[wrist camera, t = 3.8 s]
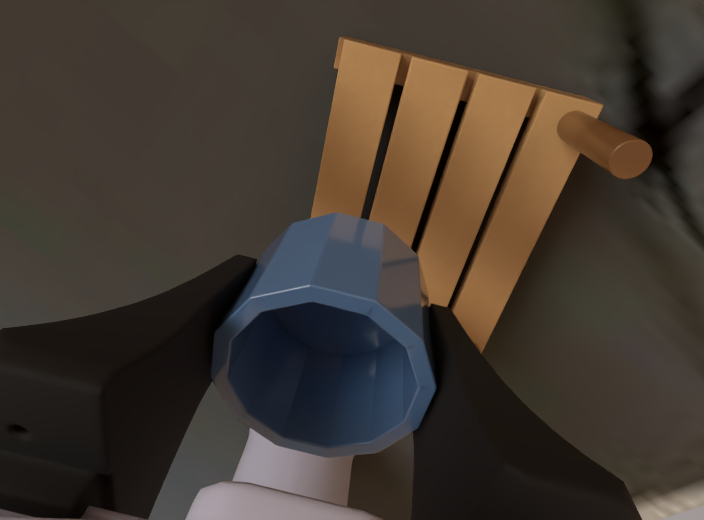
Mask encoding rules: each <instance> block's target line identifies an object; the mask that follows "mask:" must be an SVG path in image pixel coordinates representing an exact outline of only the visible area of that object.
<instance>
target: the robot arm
mask: <svg viewBox="0 0 704 520" xmlns="http://www.w3.org/2000/svg"><path fill="white" fill-rule="evenodd" d="M256 262H257V259H254V258H250V257H246V256H242V255H236V256H234V257H232V258H230V259H228V260H227V261H225V262H223V263H221V264H220V265H218V266H216V267H214V268H212V269H211V270H209V271H207V272H205V273H203V274H201V275H200V276H198V277H196V278H194V279H192V280H190V281H188V282H186V283H183V284H181V285H179V286H177V287H175V288H173V289H171V290H168V291H166V292H164V293H161V294H159V295H156V296H154V297H151V298H148V299H145V300H142V301H140V302H137V303H134V304H131V305H127V306H123V307H120V308H116V309H112V310H109V311H105V312H102V313H98V314H93V315H89V316H84V317H79V318H74V319H69V320H63V321H58V322H51V323H44V324H36V325H28V326H20V327H12V328H3V329H1V330H0V520H148V518H149V516H150V513H151V511H152V508H153V506H154V503H155V501H156V499H157V496H158V494H159V492H160V489H161V487H162V485H163V482H164V480H165V478H166V475H167V473H168V471H169V468H170V466H171V464H172V462H173V459H174V457H175V455H176V453H177V451H178V448H179V446H180V444H181V442H182V439H183V437H184V435H185V433H186V431H187V429H188V426H189V424H190V422H191V420H192V418H193V416H194V414H195V411H196V409H197V407H198V405H199V403H200V401H201V400H202V398H203V396H204V394H205V392H206V391H207V389H208V387H209V386H210V384H211V382H212V381H213V380H212V379H211V364H212V352H213V341H214V333H215V330H216V329H217V327H218V326H219V324H220V322H221V321H222V319H223V318H224V316H225V314H226V313H227V311H228V310H229V308H230V306H231V305H232V303H233V301H234V300H235V298H236V297H237V295H238V293H239V292H240V290H241V289H242V287H243V285H244V284H245V282H246V281H247V279H248V277H249V276H250V274H251V272H252V271H253V269H254V268H255V266H256ZM429 310H430V321H431V331H432V339H433V350H434V361H435V372H436V382H437V389H436V391H435V393H434V396H433V398H432V400H431V402H430V404H429V407H428V409H427V411H426V413H425V415H424V417H423V420H422V422H421V424H420V426H419V428H418V429H417V430H415V431H413V439H414V474H413V496H412V514H411V520H642V519H641V517H640V514H639V512H638V510H637V508H636V506H635V504H634V502H633V500H632V498H631V496H630V494H629V492H628V490H627V488H626V486H625V484H624V482H623V481H622V480H620V479H619V478H617V477H616V476H615V475H613V474H612V473H610V472H609V471H607V470H606V469H604V468H603V467H601V466H600V465H598V464H597V463H596V462H594V461H593V460H591V459H590V458H588V457H587V456H585V455H584V454H583V453H581V452H580V451H579V450H577V449H576V448H575V447H574V446H572V445H571V444H570V443H568V442H567V441H566V440H565V439H563V438H562V437H561V436H560V435H558V434H557V433H556V432H555V431H554V430H552V429H551V428H550V427H549V426H548V425H547V424H545V423H544V422H543V421H542V420H541V419H540V418H539V417H538V416H537V415H536V414H534V413H533V412H532V411H531V410H530V409H529V408H528V407H527V406H526V405H525V404H524V403H523V402H522V401H521V400H520V399H519V398H518V397H517V396H516V395H515V394H514V393H513V392H512V390H511V389H510V388H509V387H508V386H507V385H506V384H505V383H504V382H503V381H502V379H501V378H500V377H499V376H498V375H497V373H496V372H495V371H494V370H493V368H492V367H491V366H490V365H489V363H488V362H487V361H486V360H485V358H484V357H483V356H482V354H481V353H480V352H479V350H478V349H477V347H476V346H475V344H474V343H473V342H472V340H471V339H470V337H469V336H468V334H467V333H466V331H465V330H464V328H463V327H462V325H461V324H460V322H459V321H458V319H457V318H456V316H455V315H454V313H453V312H452V310H451V309H450V308H448V307H444V306H440V305H436V304H432V303H431V304H430V307H429ZM353 458H354V455H352V456H343V457H334V458H325V457H321V456H317V455H313V454H308V453H304V452H300V451H296V450H292V449H288V448H284V447H280V446H277V445H275V444H273V443H272V442H270V441H269V440H267V439H266V438H264V437H263V436H261V435H260V434H258V433H257V432H255V431H254V430H252V429H251V428H250V431H249V438H248V441H247V443H246V446H245V449H244V451H243V454H242V457H241V459H240V462H239V465H238V467H237V470H236V473H235V475H234V478H233V480H232V481H222V482H220V483H217V484H214V485H211V486H208V487H205V488H202V489H200V491H199V493H198V495H197V496H196V498H195V500H194V501H193V503H192V505H191V508H190V510H189V512H188V514H187V517H186V519H185V520H384V519H382V518H380V517H377V516H375V515H373V514H370V513H368V512H366V511H363V510H360V509H356V508H352V507H348V506H347V502H348V493H349V485H350V476H351V468H352V461H353Z"/></svg>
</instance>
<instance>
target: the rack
mask: <svg viewBox="0 0 704 520" xmlns="http://www.w3.org/2000/svg"><path fill="white" fill-rule="evenodd" d="M334 68H335V69H337V70H338V75H337V80H336V86H335V91H334V96H333V102H332V107H331V112H330V117H329V123H328V128H327V133H326V139H325V144H324V149H323V155H322V160H321V165H320V171H319V176H318V181H317V187H316V192H315V197H314V202H313V208H312V213H311V218H315V217H319V216H323V215H327V214H331V213H335V212H339V213H343V214H347V215H351V216H355V217H358V218H361V214H362V210H363V206H364V203H365V199H366V195H367V191H368V187H369V183H370V179H371V175H372V171H373V167H374V163H375V159H376V155H377V151H378V147H379V143H380V139H381V135H382V131H383V127H384V123H385V119H386V115H387V111H388V107H389V103H390V99H391V96H392V92H393V88H394V84H397V85H401V86H404V87H403V91H402V94H401V98H400V102H399V106H398V110H397V113H396V117H395V121H394V125H393V129H392V132H391V136H390V140H389V144H388V148H387V151H386V155H385V159H384V163H383V167H382V170H381V174H380V178H379V182H378V186H377V189H376V193H375V197H374V201H373V205H372V208H371V212H370V216H369V220H370V221H374V222H378V223H382V224H384V225H386V226H387V227H388V228H389V229H390V230H391V231H392V232H394V233H395V234H396V235H397V236H398V237H399V238H400V239H401V240H402V241H403V242H404V243H405V244H406V245H408V246H409V247H410V248H411V247H412V244H413V241H414V238H415V234H416V231H417V228H418V225H419V222H420V219H421V216H422V213H423V210H424V207H425V204H426V201H427V198H428V195H429V192H430V189H431V186H432V183H433V180H434V177H435V174H436V171H437V168H438V165H439V162H440V159H441V156H442V153H443V150H444V146H445V143H446V140H447V137H448V134H449V131H450V128H451V125H452V122H453V119H454V116H455V113H456V110H457V107H458V104H459V101H464V102H467V103H466V106H465V108H464V111H463V114H462V117H461V120H460V123H459V126H458V129H457V132H456V135H455V138H454V141H453V144H452V147H451V150H450V153H449V156H448V159H447V162H446V165H445V168H444V171H443V174H442V177H441V179H440V182H439V185H438V188H437V191H436V194H435V197H434V200H433V203H432V206H431V209H430V212H429V215H428V218H427V221H426V224H425V227H424V230H423V233H422V236H421V239H420V242H419V245H418V248H417V251H416V254H417V255H418V257H419V260H420V264H421V268H422V272H423V275H424V279H425V283H426V287H427V291H428V296H429V307H430V304H431V303H432V304H436V305H440V306H444V307H447V306H448V304H449V301H450V299H451V296H452V294H453V292H454V289H455V287H456V284H457V282H458V279H459V277H460V274H461V272H462V270H463V267H464V265H465V262H466V260H467V257H468V255H469V252H470V250H471V248H472V245H473V243H474V240H475V238H476V235H477V233H478V231H479V228H480V226H481V223H482V221H483V218H484V216H485V213H486V211H487V209H488V206H489V204H490V201H491V199H492V196H493V194H494V191H495V189H496V187H497V184H498V182H499V179H500V177H501V174H502V172H503V169H504V167H505V165H506V162H507V160H508V157H509V155H510V152H511V150H512V148H513V145H514V143H515V140H516V138H517V135H518V133H519V130H520V128H521V126H522V123H523V121H524V118H525V117H527V118H529V120H528V123H527V125H526V128H525V130H524V132H523V135H522V137H521V140H520V142H519V144H518V147H517V149H516V152H515V154H514V156H513V159H512V161H511V164H510V166H509V169H508V171H507V173H506V176H505V178H504V181H503V183H502V185H501V188H500V190H499V193H498V195H497V197H496V200H495V202H494V205H493V207H492V209H491V212H490V214H489V217H488V219H487V222H486V224H485V226H484V229H483V231H482V234H481V236H480V238H479V241H478V243H477V246H476V248H475V250H474V253H473V255H472V258H471V260H470V262H469V265H468V267H467V270H466V272H465V274H464V277H463V279H462V282H461V284H460V287H459V289H458V291H457V294H456V296H455V299H454V301H453V303H452V306H451V308H450V309H451V310H452V312H453V313H454V315H455V316H456V318H457V319H458V321H459V322H460V324H461V325H462V327H463V328H464V330H465V331H466V333H467V334H468V336H469V337H470V339H471V340H472V342H473V343H474V344H475V346H476V347H477V349H478V350H479V352H480V353H482V351H483V349H484V347H485V345H486V343H487V341H488V339H489V337H490V335H491V333H492V331H493V329H494V327H495V325H496V323H497V321H498V319H499V317H500V315H501V313H502V311H503V309H504V307H505V305H506V303H507V301H508V299H509V297H510V295H511V292H512V290H513V288H514V286H515V284H516V282H517V280H518V278H519V276H520V274H521V272H522V270H523V268H524V266H525V264H526V262H527V260H528V258H529V256H530V254H531V252H532V250H533V248H534V246H535V244H536V242H537V240H538V238H539V236H540V234H541V232H542V230H543V227H544V225H545V223H546V221H547V219H548V217H549V215H550V213H551V211H552V209H553V207H554V205H555V203H556V201H557V199H558V197H559V195H560V193H561V191H562V189H563V187H564V185H565V183H566V181H567V179H568V177H569V175H570V173H571V171H572V169H573V167H574V165H575V162H576V160H577V158H578V156H579V154H580V152H581V153H582V154H584V155H585V156H586V157H588V158H589V159H591V160H592V161H593V162H595V163H596V164H598V165H599V166H600V167H602V168H603V169H605V170H606V171H608V172H609V173H610V174H612V175H613V176H615V177H617V178H619V179H630V178H633V177H636V176H638V175H640V174H641V173H642V172H644V171H645V170H646V169H647V167H648V166H649V164H650V162H651V160H652V149H651V147H650V145H649V144H648V143H647V142H645V141H643V140H641V139H639V138H637V137H635V136H633V135H630V134H628V133H626V132H624V131H622V130H620V129H618V128H616V127H614V126H611V125H609V124H607V123H605V122H603V121H601V120H599V119H597V118H598V116H599V114H600V112H601V110H602V108H603V105H602V103H599V102H597V101H594V100H591V99H589V98H586V97H584V96H580V95H576V94H572V93H568V92H564V91H561V90H557V89H553V88H549V87H545V86H541V85H537V84H533V83H529V82H525V81H521V80H517V79H513V78H509V77H505V76H502V75H498V74H494V73H490V72H486V71H482V70H478V69H474V68H470V67H466V66H462V65H458V64H454V63H450V62H446V61H443V60H439V59H435V58H431V57H427V56H423V55H419V54H415V53H411V52H407V51H403V50H399V49H395V48H391V47H388V46H384V45H380V44H376V43H372V42H368V41H364V40H360V39H356V38H352V37H348V36H345V37H340V38H339V42H338V47H337V53H336V58H335V64H334ZM311 218H310V219H311Z"/></svg>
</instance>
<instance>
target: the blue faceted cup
mask: <svg viewBox="0 0 704 520" xmlns="http://www.w3.org/2000/svg"><path fill="white" fill-rule="evenodd" d="M211 379H212V380H213V382H214V384H215V386H216V387H217V389H218V391H219V392H220V394H221V396H222V397H223V399H224V401H225V402H226V404H227V406H228V408H229V409H230V411H231V413H232V414H233V416H234V417H235V418H236V419H238V420H239V421H241V422H242V423H244V424H245V425H247V426H248V427H249V428H251V429H252V430H254V431H255V432H257V433H258V434H260V435H261V436H263V437H264V438H266V439H267V440H269V441H270V442H272V443H273V444H275V445H277V446H280V447H284V448H288V449H292V450H296V451H300V452H304V453H308V454H313V455H317V456H321V457H325V458H334V457H343V456H352V455H361V454H370V453H377V452H380V451H382V450H383V449H385V448H387V447H388V446H390V445H392V444H393V443H395V442H397V441H398V440H400V439H402V438H403V437H405V436H407V435H408V434H410V433H412V432H413V431H415V430H417V429H418V428H419V426H420V424H421V422H422V420H423V417H424V415H425V413H426V411H427V409H428V407H429V404H430V402H431V400H432V398H433V396H434V393H435V391H436V389H437V382H436V372H435V361H434V350H433V339H432V331H431V321H430V310H429V296H428V291H427V287H426V283H425V279H424V275H423V272H422V268H421V264H420V260H419V257H418V255H417V254H416V253H415V252H414V251H413V250H412V249H411V248H410V247H409V246H408V245H406V244H405V243H404V242H403V241H402V240H401V239H400V238H399V237H398V236H397V235H396V234H395V233H394V232H392V231H391V230H390V229H389V228H388V227H387V226H386V225H384V224H382V223H378V222H374V221H370V220H366V219H362V218H358V217H355V216H351V215H347V214H343V213H339V212H335V213H331V214H327V215H323V216H319V217H315V218H311V219H307V220H303V221H299V222H295V223H292V224H291V225H290V226H289V227H288V228H287V229H286V230H285V231H284V232H283V233H282V234H281V235H280V236H279V237H278V238H277V239H276V240H275V241H274V242H273V243H272V244H271V245H270V246H269V248H268V249H267V250H266V251H265V252H264V253H263V255H262V256H261V258H260V260H259V261H258V263H257V264H256V266H255V268H254V269H253V271H252V272H251V274H250V276H249V277H248V279H247V281H246V282H245V284H244V285H243V287H242V289H241V290H240V292H239V293H238V295H237V297H236V298H235V300H234V301H233V303H232V305H231V306H230V308H229V310H228V311H227V313H226V314H225V316H224V318H223V319H222V321H221V322H220V324H219V326H218V327H217V329H216V330H215V333H214V341H213V352H212V364H211Z"/></svg>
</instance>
